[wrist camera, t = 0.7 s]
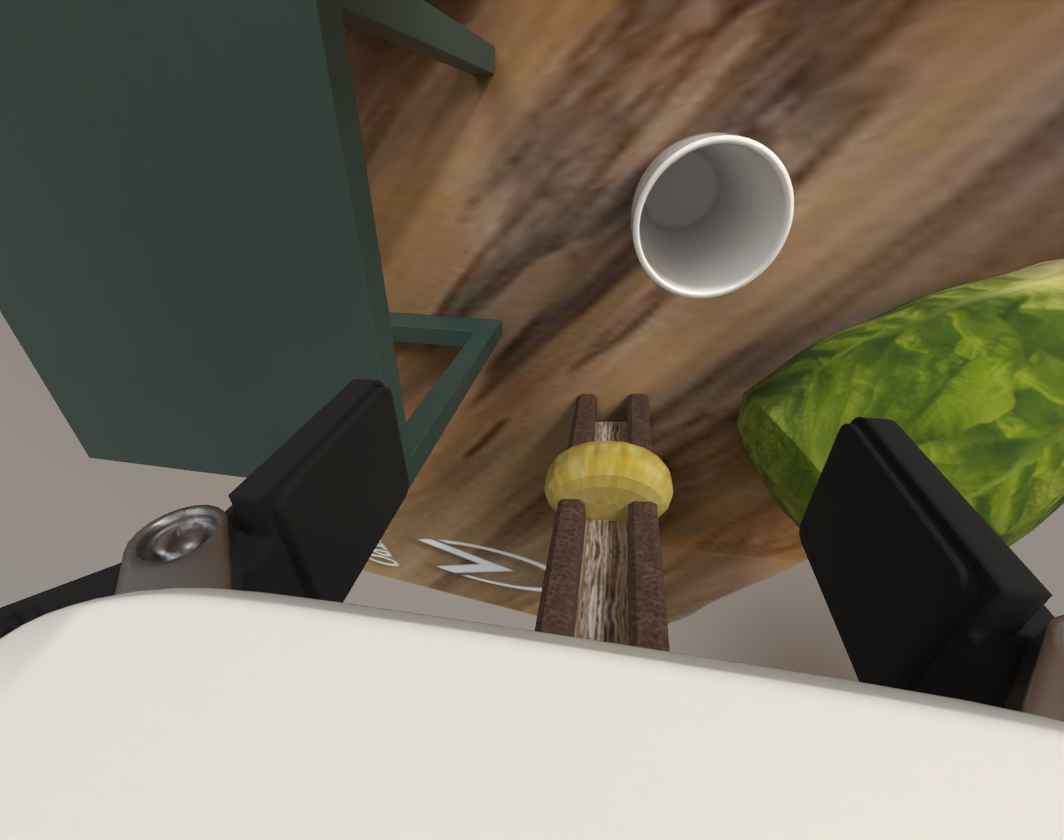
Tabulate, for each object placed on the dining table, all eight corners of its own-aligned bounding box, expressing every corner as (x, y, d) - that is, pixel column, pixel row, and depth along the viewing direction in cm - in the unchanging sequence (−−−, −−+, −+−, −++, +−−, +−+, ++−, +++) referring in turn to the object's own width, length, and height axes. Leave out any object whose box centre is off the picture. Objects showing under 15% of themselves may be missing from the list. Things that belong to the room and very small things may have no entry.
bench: (244, 48, 33) (-222, -53, 15) (494, 45, 30) (301, -81, 12) (312, 322, 43) (89, 457, 25) (501, 336, 41) (403, 498, 23)
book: (653, 550, 51) (673, 842, 30) (576, 546, 53) (543, 820, 32) (661, 365, 40) (703, 626, 19) (562, 367, 41) (498, 609, 20)
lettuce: (983, 273, 38) (1211, 431, 30) (730, 441, 45) (858, 605, 37) (1069, 113, 24) (1534, 324, 16) (686, 390, 31) (875, 634, 23)
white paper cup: (635, 248, 35) (640, 312, 23) (623, 147, 32) (621, 156, 19) (731, 228, 33) (794, 286, 21) (728, 119, 30) (801, 110, 18)
